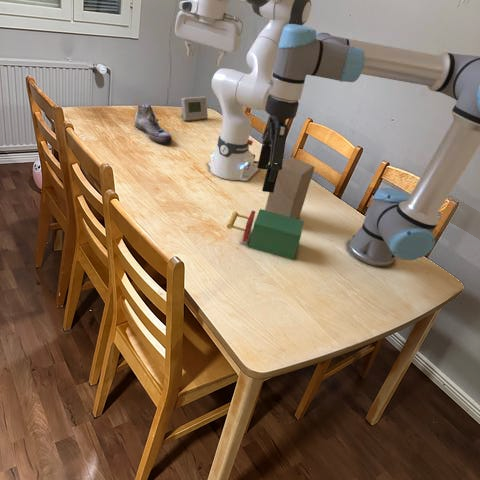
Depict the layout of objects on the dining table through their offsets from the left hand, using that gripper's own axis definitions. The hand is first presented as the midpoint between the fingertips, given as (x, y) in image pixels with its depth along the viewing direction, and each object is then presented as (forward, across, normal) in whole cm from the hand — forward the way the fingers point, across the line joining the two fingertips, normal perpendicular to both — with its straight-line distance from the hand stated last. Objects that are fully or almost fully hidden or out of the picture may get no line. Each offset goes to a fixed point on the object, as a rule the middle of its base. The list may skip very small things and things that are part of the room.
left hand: (203, 61), depth 130 cm
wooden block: (+46, -32, -14) cm, 58 cm away
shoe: (+46, +42, -39) cm, 73 cm away
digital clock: (+46, +43, -76) cm, 98 cm away
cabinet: (+46, -37, +6) cm, 59 cm away
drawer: (+45, -31, +7) cm, 55 cm away
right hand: (+19, -34, +20) cm, 44 cm away
